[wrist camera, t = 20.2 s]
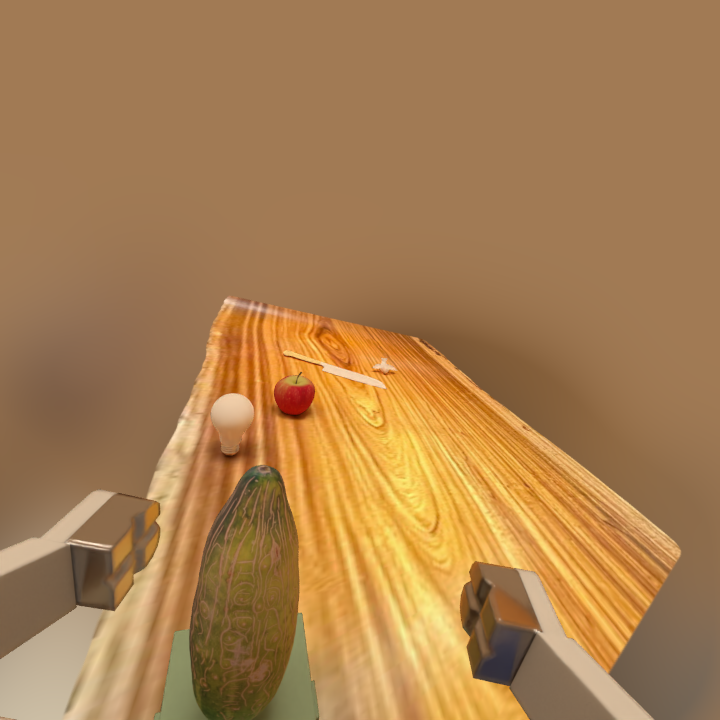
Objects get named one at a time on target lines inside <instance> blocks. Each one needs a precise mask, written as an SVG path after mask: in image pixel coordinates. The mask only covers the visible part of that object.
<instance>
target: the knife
mask: <svg viewBox="0 0 720 720" xmlns="http://www.w3.org/2000/svg"><path fill="white" fill-rule="evenodd" d="M283 354H284V355H286V356H293V357H296V358H299V359H302V360H305V361H308V362H312V363H316V364H319V365H323V367H324V368H323V370H322V371H325V372H328V373H331V374H334V375H338V376H341V377H344V378H348V379H351V380H355V381H358V382H362V383H365V384H369V385H373V386H376V387H380V388H384V389H387V388H386V387H385V386H384V384H383V383H382V382H380V381H379V380H376V379H374V378H371V377H368V376H365V375H361V374H358V373H355V372H352V371H349V370H346V369H342V368H339V367H336V366H333V365H329V364H326V363H323V362H320V361H318V360H315V359H312V358H309V357H306V356H303V355H300V354H297V353H294V352H291V351H284V352H283Z"/></svg>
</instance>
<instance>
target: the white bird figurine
mask: <svg viewBox="0 0 720 720" xmlns="http://www.w3.org/2000/svg"><path fill="white" fill-rule="evenodd" d="M381 359H382V363H381V364H375V365H374V366H373V367H372V368H376V369H380V370H381V371H382V372H383V373H384V374H385V373H387V372H388V371H389V370H397V369H396V368H395V367H394V366H391V365H388V364H386V360H387V358H381Z"/></svg>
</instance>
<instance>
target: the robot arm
mask: <svg viewBox="0 0 720 720" xmlns="http://www.w3.org/2000/svg"><path fill="white" fill-rule="evenodd" d="M159 515H160V503H158V502H157V501H153V500H148V499H144V498H139V497H135V496H130V495H125V494H121V493H114V492H110V491H105V490H97V491H94V492H92V493H90V494H89V495H88V496H87V497H86V498H85V499H84V500H83V501H81V502H80V503H79V504H78V505H77V506H76V507H75V508H74V509H72V510H71V511H70V512H69V513H68V514H67V515H66V516H65V517H64V518H62V519H61V520H60V521H59V522H58V523H57V524H56V525H55V526H53V527H52V528H51V529H50V530H49V531H48V532H47V533H46V534H44V535H43V536H42V537H41V538H35V537H33V538H30V539H28V540H26V541H23V542H21V543H18V544H16V545H13V546H11V547H9V548H6V549H4V550H1V551H0V659H1V658H2V657H4V656H6V655H7V654H9V653H10V652H11V651H13V650H14V649H16V648H17V647H19V646H20V645H22V644H23V643H25V642H26V641H28V640H29V639H31V638H32V637H34V636H35V635H36V634H38V633H40V632H41V631H42V630H44V629H45V628H47V627H49V626H50V625H51V624H53V623H54V622H56V621H57V620H59V619H60V618H62V617H63V616H65V615H66V614H68V613H69V612H71V611H72V610H74V609H75V608H76V607H77V606H76V605H79V606H85V607H92V608H98V609H105V610H111V611H115V610H116V608H117V607H118V606H119V604H120V603H121V601H122V600H123V599H124V597H125V596H126V594H127V593H128V592H129V590H130V589H131V587H132V586H133V585H134V579H133V575H134V574H135V573H137V572H139V571H141V570H142V569H144V568H145V567H146V566H147V565H148V563H149V562H150V560H151V559H152V557H153V555H154V553H155V550H156V548H157V546H158V543H159V538H160V527H159V525H158V524H157V522H156V521H155V520H156V519H157V517H158V516H159ZM469 573H470V577H471V581H470V582H468V583H467V584H465V585H464V588H463V591H462V594H461V601H460V614H461V621H462V626H463V628H464V630H465V631H466V632H467V634H468V635H469V636H470V640H469V642H468V645H467V651H468V655H469V660H470V665H471V669H472V674H473V678H475V679H480V680H485V681H489V682H494V683H498V684H503V685H507V686H510V690H511V691H512V693H513V694H514V696H515V697H516V699H517V701H518V702H519V704H520V705H521V707H522V708H523V710H524V711H525V713H526V714H527V716H528V717H529V719H530V720H654V719H653V718H652V717H651V716H650V715H649V714H648V713H647V712H646V711H645V710H644V709H643V708H642V707H641V706H640V705H639V704H638V703H637V702H636V701H635V700H634V699H633V698H632V697H631V696H630V695H629V694H628V693H627V692H626V691H625V690H624V689H623V688H622V687H621V686H620V685H619V684H618V683H617V682H616V681H615V680H614V679H613V678H612V677H611V676H610V675H609V674H608V673H607V672H606V671H605V670H604V669H603V668H602V667H601V666H600V665H599V664H598V663H597V662H596V661H595V660H594V659H593V658H592V657H591V656H590V655H589V654H588V653H587V652H586V651H585V650H584V649H583V648H582V647H581V646H580V645H579V644H578V643H577V642H576V641H575V640H574V639H572V638H567V636H566V634H565V632H564V630H563V628H562V626H561V623H560V621H559V619H558V617H557V615H556V613H555V611H554V608H553V606H552V604H551V602H550V600H549V598H548V596H547V593H546V591H545V589H544V587H543V585H542V583H541V580H540V578H539V576H538V575H537V574H536V573H535V572H533V571H528V570H522V569H517V568H514V569H513V568H511V567H505V566H500V565H494V564H488V563H483V562H477V561H475V562H474V563H473V564H472V566H471V569H470V571H469ZM0 720H15V719H10V718H5V717H0Z"/></svg>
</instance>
